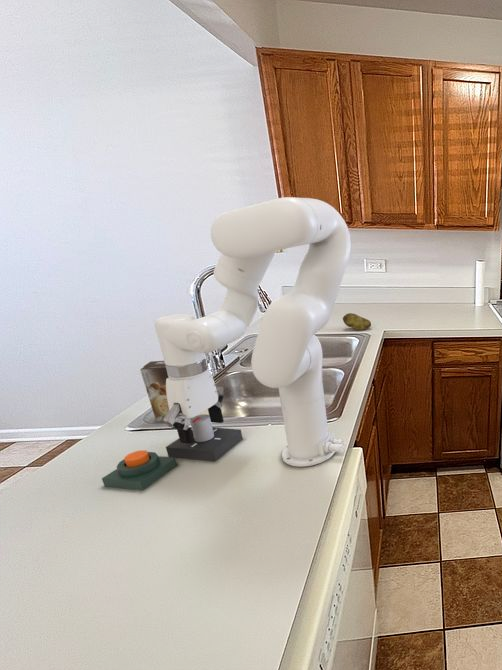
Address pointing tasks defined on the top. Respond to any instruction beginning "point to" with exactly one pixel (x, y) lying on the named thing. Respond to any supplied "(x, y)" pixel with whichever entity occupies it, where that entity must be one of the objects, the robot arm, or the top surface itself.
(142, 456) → the button
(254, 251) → the robot arm
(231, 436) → the timer panel
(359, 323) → the potato
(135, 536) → the top surface
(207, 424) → the timer knob
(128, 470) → the block
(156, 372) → the food box
